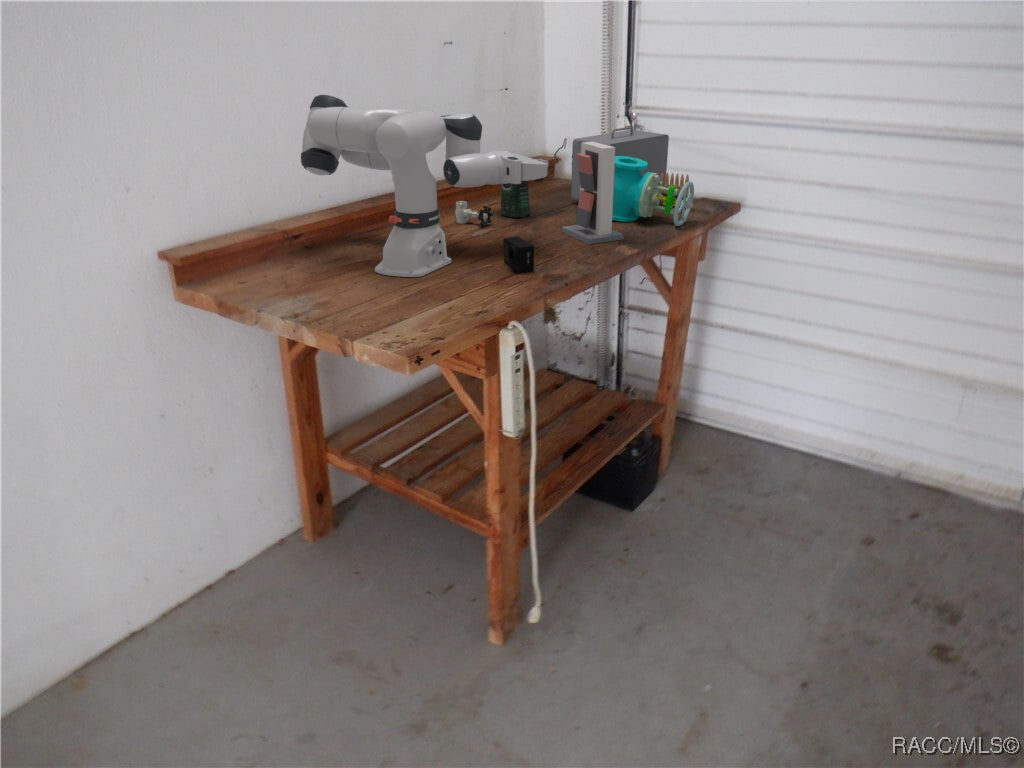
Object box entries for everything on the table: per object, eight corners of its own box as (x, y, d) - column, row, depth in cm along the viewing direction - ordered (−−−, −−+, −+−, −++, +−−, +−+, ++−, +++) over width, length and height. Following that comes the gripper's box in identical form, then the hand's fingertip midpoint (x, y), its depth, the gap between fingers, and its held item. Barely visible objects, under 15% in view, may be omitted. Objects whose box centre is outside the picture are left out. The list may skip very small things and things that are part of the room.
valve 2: (618, 153, 266) (706, 173, 254) (610, 206, 275) (694, 228, 262) (600, 160, 255) (690, 182, 243) (591, 215, 264) (678, 238, 251)
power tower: (594, 227, 256) (598, 139, 244) (623, 239, 243) (628, 147, 231) (561, 231, 251) (563, 143, 239) (588, 244, 238) (591, 151, 227)
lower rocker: (578, 223, 247) (584, 190, 243) (588, 228, 242) (594, 194, 238) (574, 223, 246) (580, 190, 242) (585, 228, 241) (591, 194, 238)
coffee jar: (533, 215, 270) (534, 158, 262) (516, 219, 265) (516, 161, 257) (513, 210, 276) (513, 154, 269) (496, 214, 272) (495, 157, 264)
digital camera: (499, 263, 222) (499, 238, 219) (517, 260, 224) (517, 235, 221) (515, 273, 213) (515, 247, 210) (533, 271, 215) (534, 245, 212)
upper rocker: (584, 186, 242) (580, 153, 238) (594, 190, 238) (590, 156, 233) (580, 187, 242) (576, 154, 237) (591, 191, 237) (587, 157, 232)
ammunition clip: (688, 209, 276) (691, 174, 271) (686, 211, 274) (689, 175, 269) (658, 206, 281) (660, 171, 276) (656, 207, 279) (658, 172, 274)
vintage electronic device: (625, 189, 306) (629, 120, 295) (664, 197, 293) (669, 125, 283) (566, 203, 286) (568, 129, 276) (605, 212, 274) (609, 135, 263)
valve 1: (450, 223, 262) (480, 229, 255) (449, 203, 259) (480, 208, 253) (463, 219, 266) (493, 224, 260) (462, 199, 264) (492, 204, 257)
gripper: (486, 172, 235) (528, 168, 240) (518, 185, 218) (563, 180, 224) (486, 150, 232) (528, 146, 238) (518, 161, 215) (564, 156, 221)
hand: (546, 162), depth 231 cm, fingers closed
